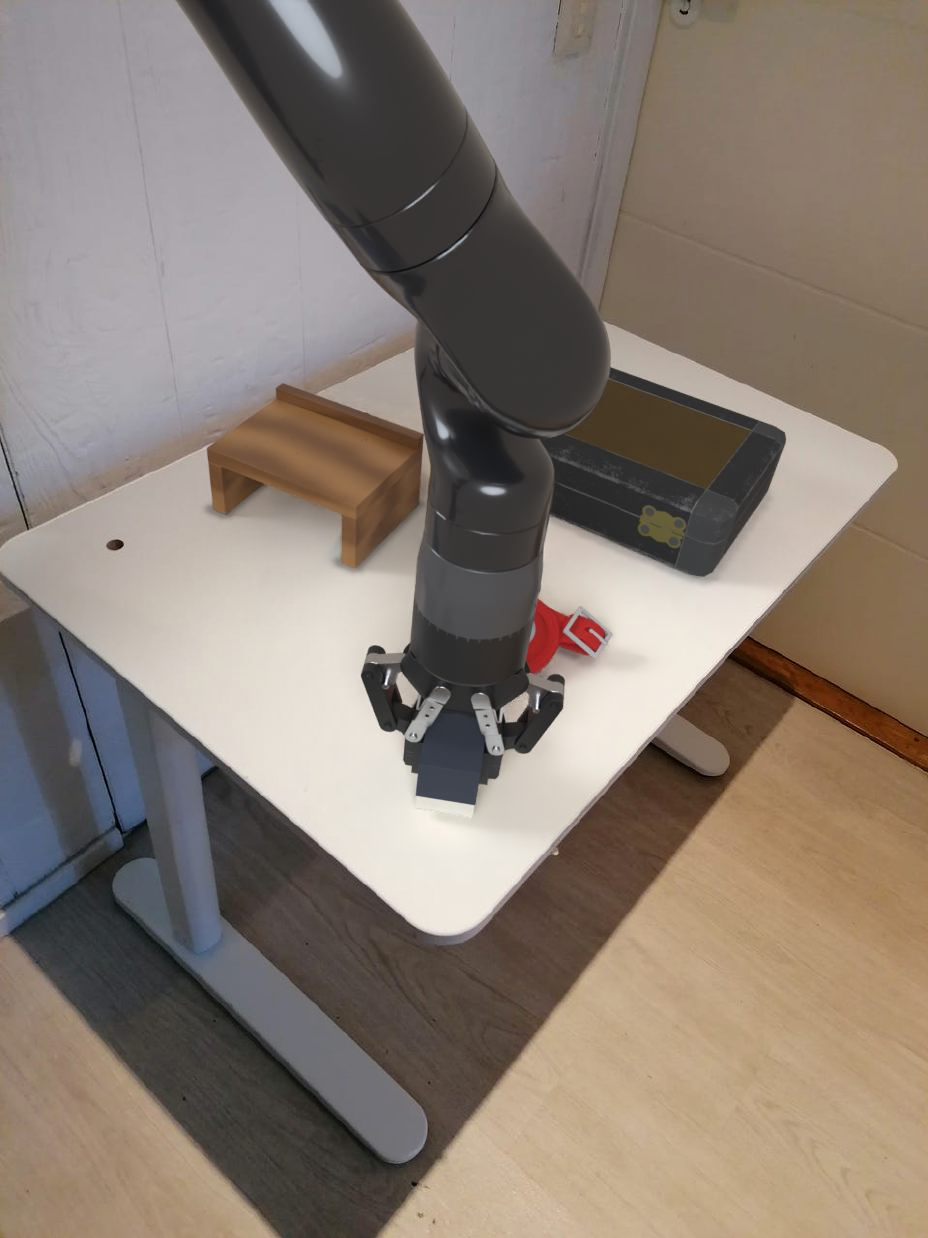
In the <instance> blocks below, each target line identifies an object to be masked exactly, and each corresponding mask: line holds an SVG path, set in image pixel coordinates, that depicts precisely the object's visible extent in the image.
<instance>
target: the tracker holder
mask: <svg viewBox="0 0 928 1238" xmlns="http://www.w3.org/2000/svg"><path fill="white" fill-rule="evenodd" d="M580 614H582V615H580ZM613 635H614V634H613V632H612V631H611V630H610V629H609V628H607V627H606V626H605V625H604V624H603V623H602V622H600V621H599V620H598V619H597V618H595V617H594V615H592V614H591V613H590V612H589V611H587V609H586V608H584V607H583V606H578V608H577V609H576V610H575V612H574V613H572V614H569V615H566V614H564V613H561V612H559V611H557V610H555V609H553V608H552V607H550V606H549V605H547V604H546V603H544V602H543V601H542V600H541V599H540V598H538V601H537V606H536V611H535V616H534V621H533V626H532V631H531V636H530V641H529V646H528V651H527V656H526V661H527V663H528V665H529V667H530V673H532V674H535V675H536V674H537V673H539V672H540V671H542V670H543V669H544V668H545V667H546V666H547V665H548V664H549V663H550V662H551V660H552V659H553V657H554V656H555V654H556V653H557V650H558V647H561V648H563V649H565V650H568V651H571V652H574V653H576V654H577V653H578V654H581V655H584V656H591V657H592V658H593V659H594V660H597V659H598V658H599V657H600V655H601V653H602V652H603V651H604V649H605V648H606V647H607V646H609V641H610V640H611V638H612V636H613Z"/></svg>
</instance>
